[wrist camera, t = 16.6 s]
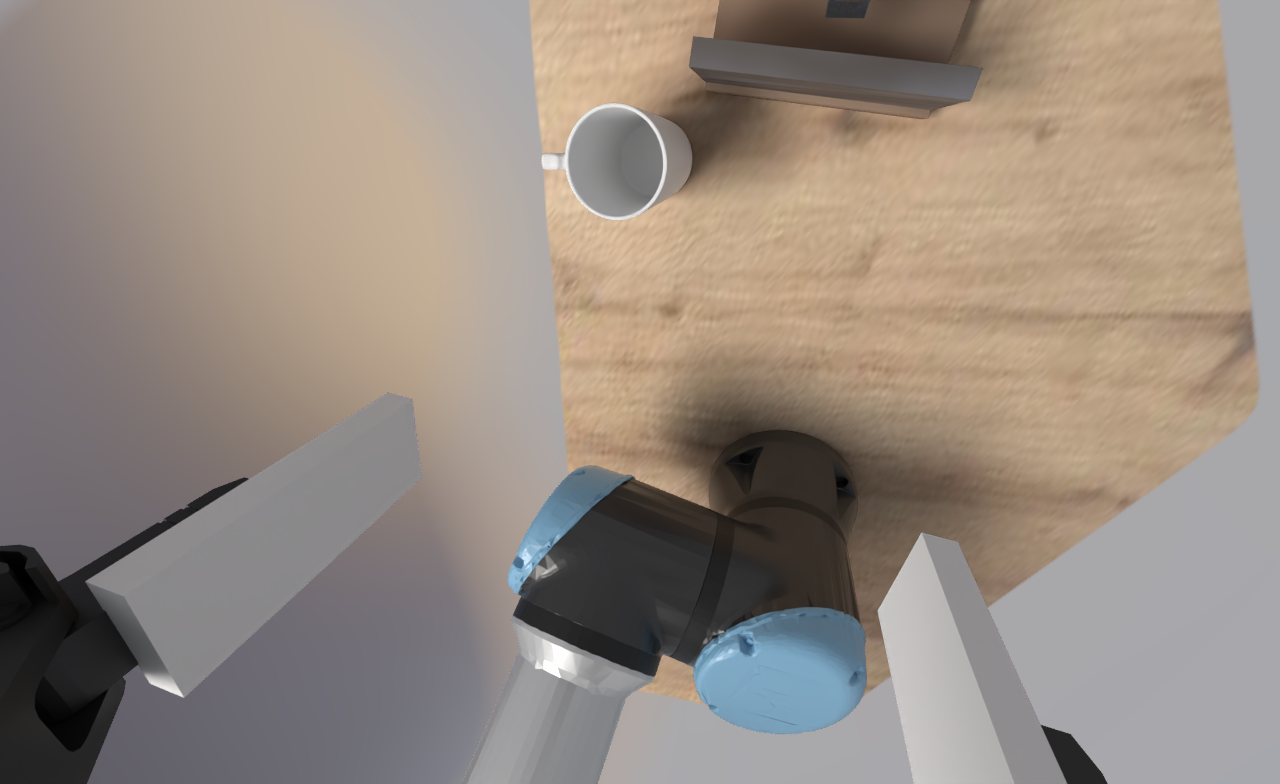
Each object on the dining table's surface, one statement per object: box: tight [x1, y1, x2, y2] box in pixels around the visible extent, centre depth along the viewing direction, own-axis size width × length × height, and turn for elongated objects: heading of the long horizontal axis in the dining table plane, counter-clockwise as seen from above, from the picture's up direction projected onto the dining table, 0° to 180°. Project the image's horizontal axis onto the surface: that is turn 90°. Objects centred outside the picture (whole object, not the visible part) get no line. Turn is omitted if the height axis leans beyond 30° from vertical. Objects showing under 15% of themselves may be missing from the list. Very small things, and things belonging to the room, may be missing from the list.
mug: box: [542, 103, 692, 220], centre depth 36 cm, size 10×7×12 cm, turn 88°
